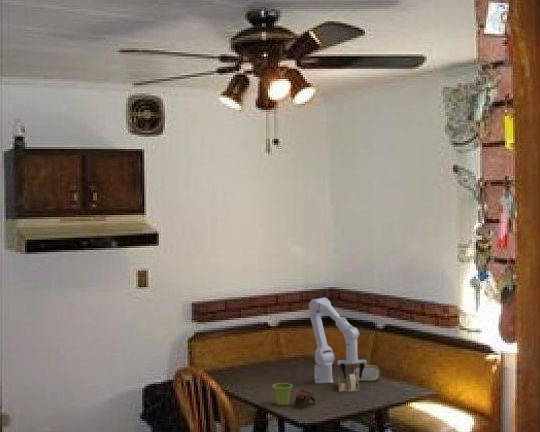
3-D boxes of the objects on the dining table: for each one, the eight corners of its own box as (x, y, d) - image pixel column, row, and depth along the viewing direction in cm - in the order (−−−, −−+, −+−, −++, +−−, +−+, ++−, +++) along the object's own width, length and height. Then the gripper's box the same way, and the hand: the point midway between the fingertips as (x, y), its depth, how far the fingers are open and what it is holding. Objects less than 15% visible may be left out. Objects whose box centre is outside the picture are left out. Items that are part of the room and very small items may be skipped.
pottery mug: (290, 405, 307) (296, 388, 309) (308, 412, 308) (314, 395, 310) (297, 405, 295) (303, 388, 298) (315, 413, 296) (321, 396, 299)
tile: (351, 388, 326) (350, 378, 326) (349, 383, 335) (349, 374, 335) (356, 388, 326) (355, 378, 326) (354, 383, 335) (354, 374, 335)
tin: (380, 380, 344) (380, 364, 344) (381, 381, 341) (380, 365, 341) (352, 380, 346) (351, 364, 346) (352, 381, 343) (351, 365, 343)
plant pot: (279, 399, 314) (278, 381, 314) (296, 402, 309) (295, 384, 309) (269, 405, 306) (268, 386, 305) (286, 407, 301) (286, 389, 301)
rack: (339, 391, 325) (339, 383, 325) (337, 384, 337) (337, 377, 337) (359, 390, 325) (359, 383, 325) (357, 384, 337) (356, 377, 337)
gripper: (338, 353, 327) (338, 380, 327) (367, 353, 326) (367, 380, 327) (337, 350, 334) (337, 377, 334) (365, 350, 334) (366, 376, 334)
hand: (352, 378), depth 331 cm, fingers open, 7 cm apart
